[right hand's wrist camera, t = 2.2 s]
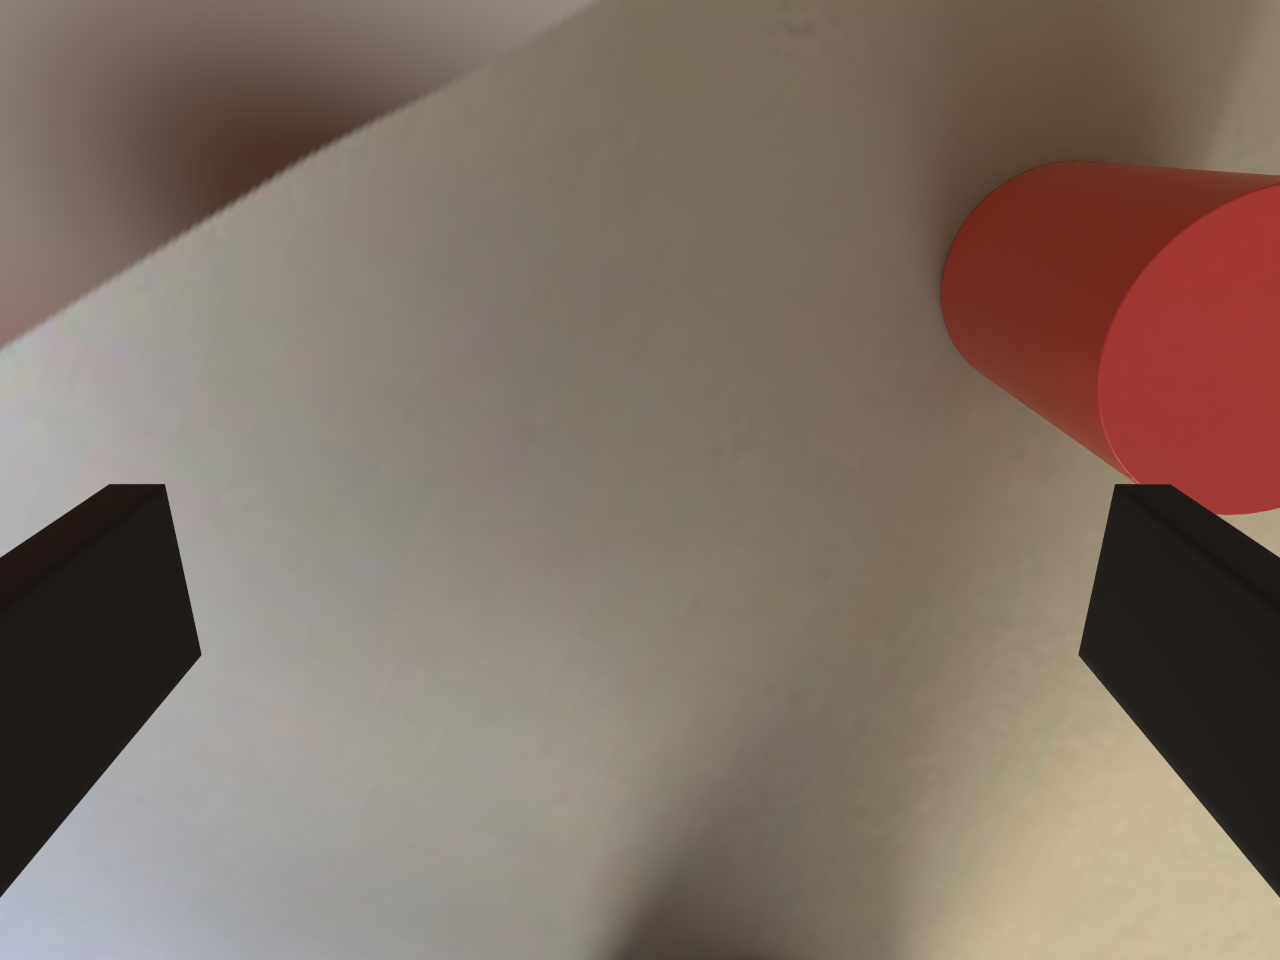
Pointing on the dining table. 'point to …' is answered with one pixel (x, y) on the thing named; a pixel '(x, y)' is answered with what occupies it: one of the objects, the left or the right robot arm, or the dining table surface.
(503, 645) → the dining table surface
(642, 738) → the dining table surface
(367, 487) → the dining table surface
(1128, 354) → the canister
